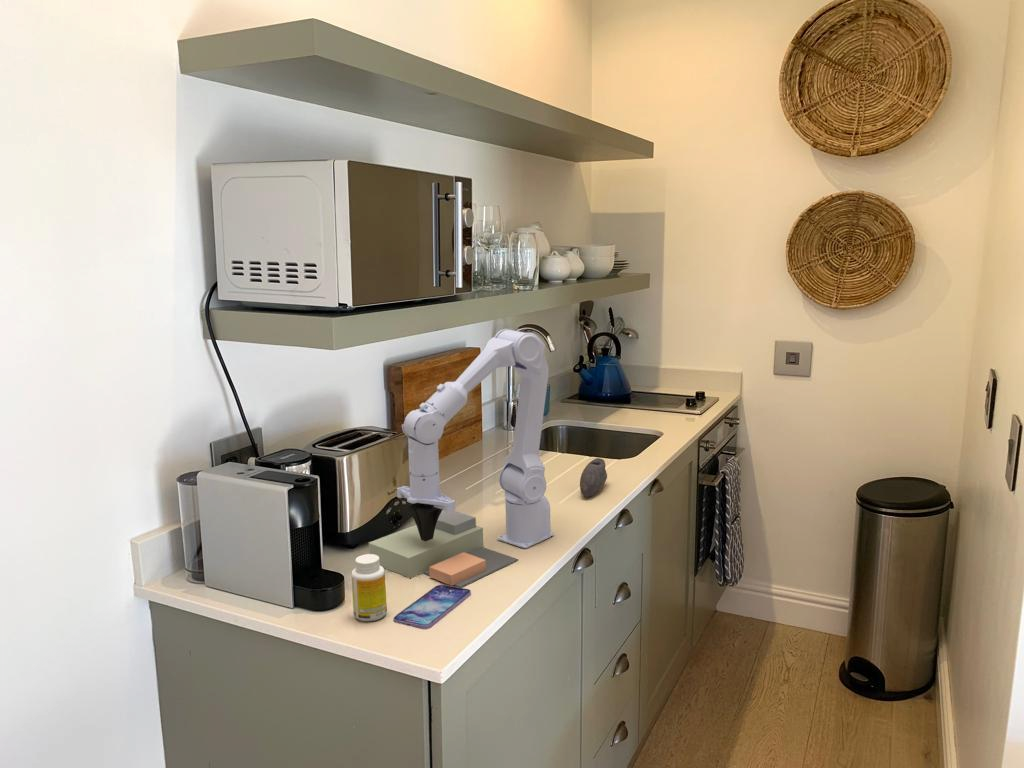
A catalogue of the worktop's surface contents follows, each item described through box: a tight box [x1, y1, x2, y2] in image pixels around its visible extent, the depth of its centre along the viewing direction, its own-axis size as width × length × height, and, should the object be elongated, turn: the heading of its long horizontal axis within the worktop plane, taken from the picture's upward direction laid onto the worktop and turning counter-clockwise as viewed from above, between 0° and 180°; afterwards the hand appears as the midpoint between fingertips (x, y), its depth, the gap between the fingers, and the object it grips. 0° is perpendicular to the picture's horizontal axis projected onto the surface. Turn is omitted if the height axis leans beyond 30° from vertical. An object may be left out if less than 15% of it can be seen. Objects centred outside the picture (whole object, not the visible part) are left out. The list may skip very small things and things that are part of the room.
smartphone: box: [393, 584, 472, 630], centre depth 138 cm, size 7×1×15 cm
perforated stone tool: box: [579, 457, 608, 498], centre depth 196 cm, size 15×5×7 cm, turn 157°
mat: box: [423, 546, 519, 588], centre depth 154 cm, size 16×10×1 cm, turn 138°
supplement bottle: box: [351, 553, 388, 622], centre depth 134 cm, size 6×6×10 cm
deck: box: [368, 524, 484, 579], centre depth 160 cm, size 20×12×4 cm, turn 138°
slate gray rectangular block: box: [435, 510, 477, 535], centre depth 164 cm, size 9×6×2 cm, turn 48°
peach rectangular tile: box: [429, 552, 486, 586], centre depth 150 cm, size 9×6×2 cm, turn 138°
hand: (427, 539), depth 155 cm, fingers closed
